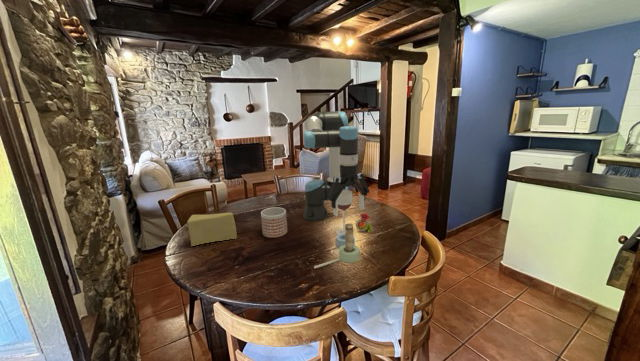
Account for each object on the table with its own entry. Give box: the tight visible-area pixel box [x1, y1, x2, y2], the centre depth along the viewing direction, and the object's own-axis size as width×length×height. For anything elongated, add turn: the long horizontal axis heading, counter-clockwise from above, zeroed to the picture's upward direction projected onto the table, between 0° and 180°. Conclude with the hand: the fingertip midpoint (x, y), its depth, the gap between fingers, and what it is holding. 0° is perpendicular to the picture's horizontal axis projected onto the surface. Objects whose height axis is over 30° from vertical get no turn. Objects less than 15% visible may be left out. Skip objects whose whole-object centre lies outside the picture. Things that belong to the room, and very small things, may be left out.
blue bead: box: [335, 233, 356, 249], centre depth 133 cm, size 9×9×4 cm
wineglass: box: [335, 189, 353, 235], centre depth 144 cm, size 9×10×23 cm
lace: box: [313, 258, 341, 270], centre depth 116 cm, size 1×13×1 cm, turn 117°
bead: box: [338, 245, 360, 264], centre depth 121 cm, size 9×9×4 cm
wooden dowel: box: [345, 223, 354, 252], centre depth 120 cm, size 4×4×16 cm
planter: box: [260, 206, 288, 239], centre depth 148 cm, size 14×14×13 cm
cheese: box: [187, 212, 238, 247], centre depth 140 cm, size 22×10×15 cm, turn 101°
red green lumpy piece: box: [355, 213, 373, 233], centre depth 146 cm, size 6×11×9 cm
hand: (348, 211), depth 116 cm, fingers open, 13 cm apart
